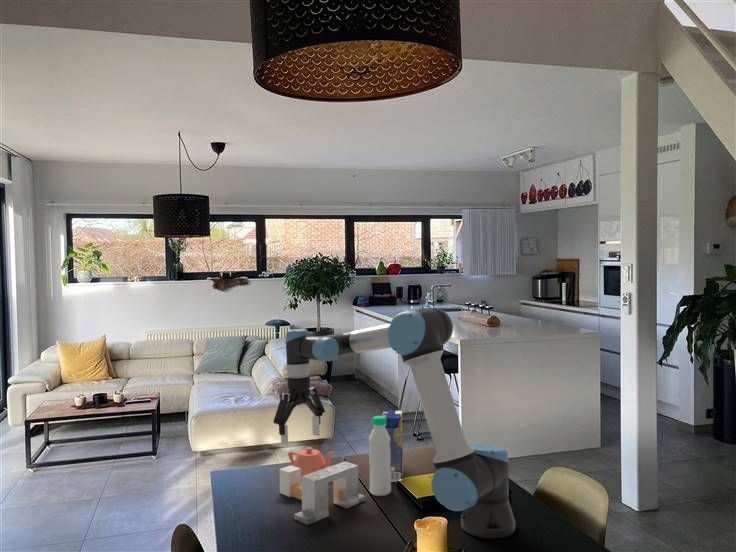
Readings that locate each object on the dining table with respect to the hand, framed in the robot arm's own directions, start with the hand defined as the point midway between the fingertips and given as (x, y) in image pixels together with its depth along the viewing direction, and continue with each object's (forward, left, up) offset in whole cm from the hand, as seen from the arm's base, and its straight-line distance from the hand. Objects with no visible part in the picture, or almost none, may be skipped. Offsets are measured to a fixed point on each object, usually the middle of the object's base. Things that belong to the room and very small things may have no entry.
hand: (300, 439), depth 200 cm
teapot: (+9, -12, -17) cm, 23 cm away
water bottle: (-21, -16, -17) cm, 31 cm away
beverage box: (-14, -30, -17) cm, 37 cm away
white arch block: (-19, +4, -17) cm, 26 cm away
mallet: (-6, +4, -17) cm, 18 cm away
